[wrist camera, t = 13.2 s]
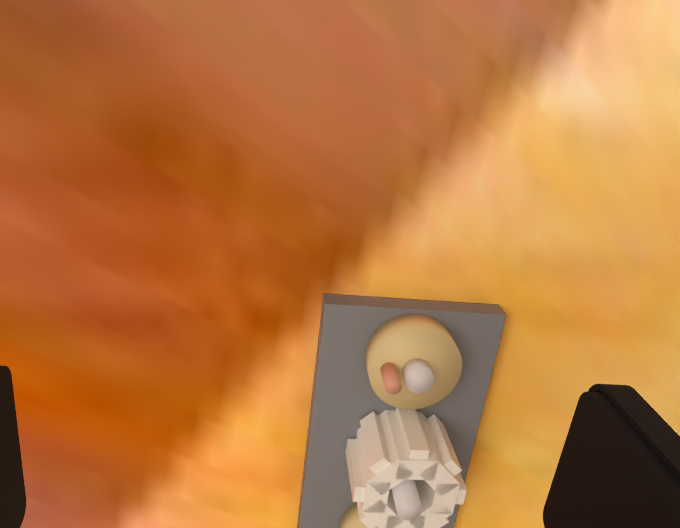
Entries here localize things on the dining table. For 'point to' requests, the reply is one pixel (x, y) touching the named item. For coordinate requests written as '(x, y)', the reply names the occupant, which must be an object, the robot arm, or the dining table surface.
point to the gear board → (392, 388)
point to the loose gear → (403, 468)
